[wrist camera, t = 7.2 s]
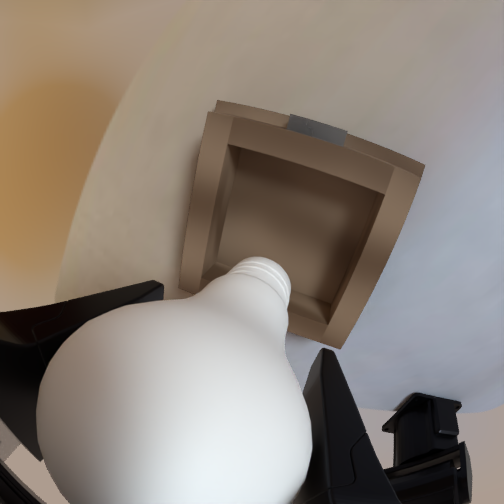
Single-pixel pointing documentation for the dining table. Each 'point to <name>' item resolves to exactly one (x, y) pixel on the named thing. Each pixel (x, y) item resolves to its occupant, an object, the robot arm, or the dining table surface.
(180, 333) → the lightbulb
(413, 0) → the dining table surface
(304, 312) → the bulb holder
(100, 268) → the dining table surface
